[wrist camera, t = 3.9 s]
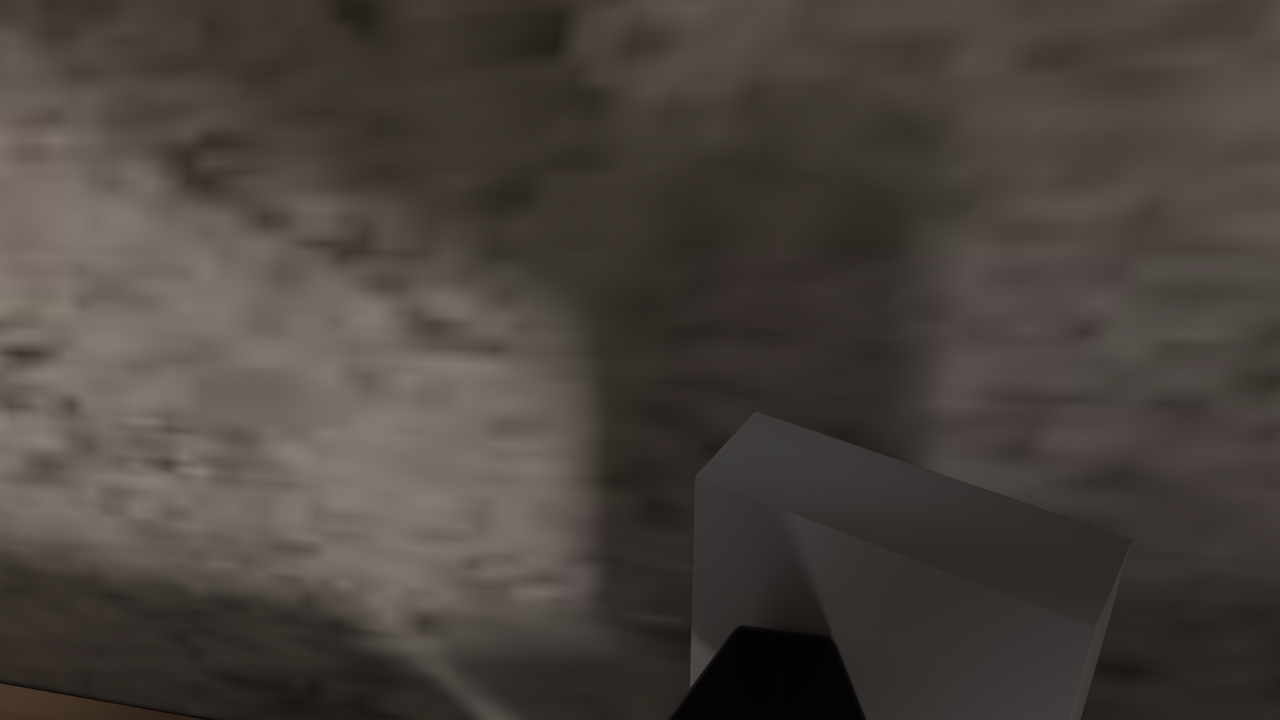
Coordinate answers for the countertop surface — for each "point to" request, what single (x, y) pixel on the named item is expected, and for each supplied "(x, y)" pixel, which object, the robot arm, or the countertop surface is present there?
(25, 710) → the tray
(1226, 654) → the countertop surface
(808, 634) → the robot arm
